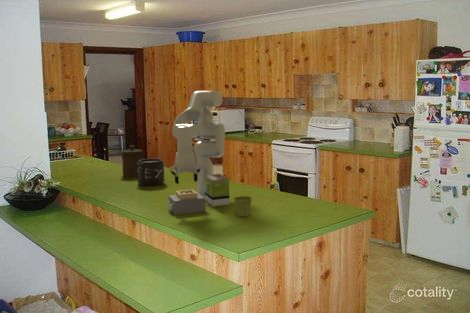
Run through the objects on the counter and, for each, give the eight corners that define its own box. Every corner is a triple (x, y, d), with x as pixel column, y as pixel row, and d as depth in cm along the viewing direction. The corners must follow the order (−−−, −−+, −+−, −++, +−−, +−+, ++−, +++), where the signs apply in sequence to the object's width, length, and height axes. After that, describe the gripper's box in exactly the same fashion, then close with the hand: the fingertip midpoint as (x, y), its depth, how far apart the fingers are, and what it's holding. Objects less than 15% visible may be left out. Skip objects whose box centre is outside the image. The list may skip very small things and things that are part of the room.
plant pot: (229, 215, 249) (229, 198, 248) (243, 211, 256) (242, 195, 254) (243, 218, 243) (242, 201, 241) (256, 214, 249) (256, 197, 248)
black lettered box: (132, 186, 323) (131, 162, 320) (144, 181, 340) (142, 158, 337) (158, 187, 318) (157, 163, 316) (169, 181, 336) (168, 158, 333)
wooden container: (131, 173, 370) (129, 143, 367) (148, 174, 364) (146, 144, 360) (118, 176, 357) (116, 146, 354) (135, 178, 351) (133, 146, 347)
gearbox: (198, 205, 271) (197, 187, 270) (205, 211, 258) (205, 193, 257) (166, 208, 265) (165, 191, 264) (171, 215, 252) (171, 196, 251)
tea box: (204, 200, 281) (203, 174, 279) (221, 198, 284) (220, 173, 282) (212, 206, 267) (211, 179, 265) (230, 204, 270) (229, 177, 268)
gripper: (199, 147, 264) (200, 179, 267) (166, 150, 258) (168, 182, 261) (203, 149, 257) (204, 182, 260) (169, 152, 251) (171, 186, 254)
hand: (186, 182), depth 260 cm, fingers open, 9 cm apart
